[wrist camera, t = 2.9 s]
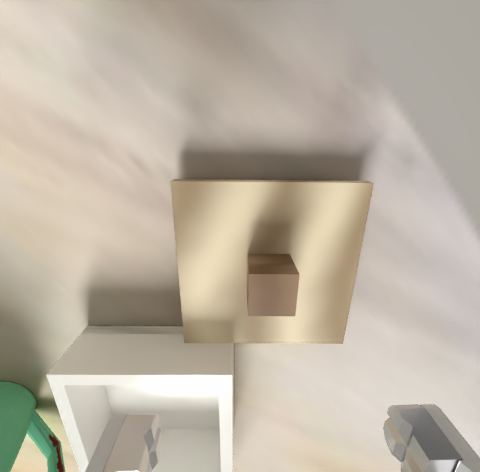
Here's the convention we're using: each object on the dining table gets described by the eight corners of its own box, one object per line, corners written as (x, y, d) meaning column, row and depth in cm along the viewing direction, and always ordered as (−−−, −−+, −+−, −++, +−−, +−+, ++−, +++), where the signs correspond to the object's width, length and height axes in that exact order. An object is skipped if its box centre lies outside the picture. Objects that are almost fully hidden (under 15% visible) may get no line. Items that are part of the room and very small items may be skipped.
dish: (233, 326, 22) (232, 375, 17) (233, 425, 26) (232, 485, 22) (87, 325, 22) (46, 374, 17) (112, 425, 26) (84, 485, 22)
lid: (365, 181, 17) (403, 190, 13) (338, 334, 21) (359, 375, 17) (174, 179, 17) (155, 188, 13) (186, 334, 21) (175, 374, 17)
